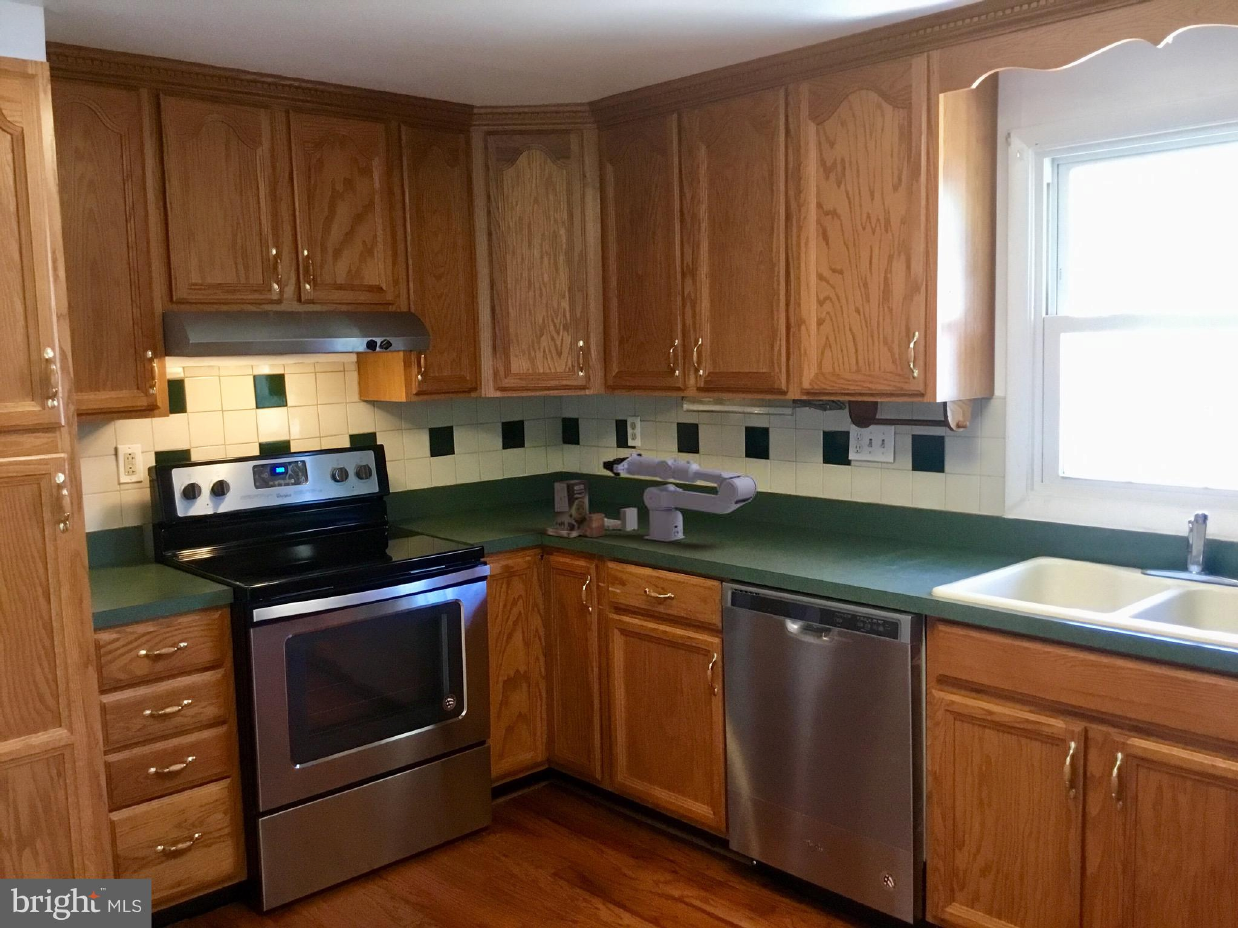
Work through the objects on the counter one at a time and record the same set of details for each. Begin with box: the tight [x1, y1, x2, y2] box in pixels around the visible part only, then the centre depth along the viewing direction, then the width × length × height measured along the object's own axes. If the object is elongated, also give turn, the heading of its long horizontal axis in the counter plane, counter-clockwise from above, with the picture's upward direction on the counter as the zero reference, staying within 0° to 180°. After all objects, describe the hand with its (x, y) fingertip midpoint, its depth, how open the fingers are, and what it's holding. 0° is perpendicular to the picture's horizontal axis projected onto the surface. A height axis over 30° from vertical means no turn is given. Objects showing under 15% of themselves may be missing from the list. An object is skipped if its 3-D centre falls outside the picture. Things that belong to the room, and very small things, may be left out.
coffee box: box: [554, 479, 590, 532], centre depth 334 cm, size 9×6×16 cm
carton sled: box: [545, 512, 606, 539], centre depth 332 cm, size 16×13×6 cm
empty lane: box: [604, 507, 639, 532], centre depth 343 cm, size 16×8×6 cm, turn 46°
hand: (612, 463), depth 333 cm, fingers open, 7 cm apart
